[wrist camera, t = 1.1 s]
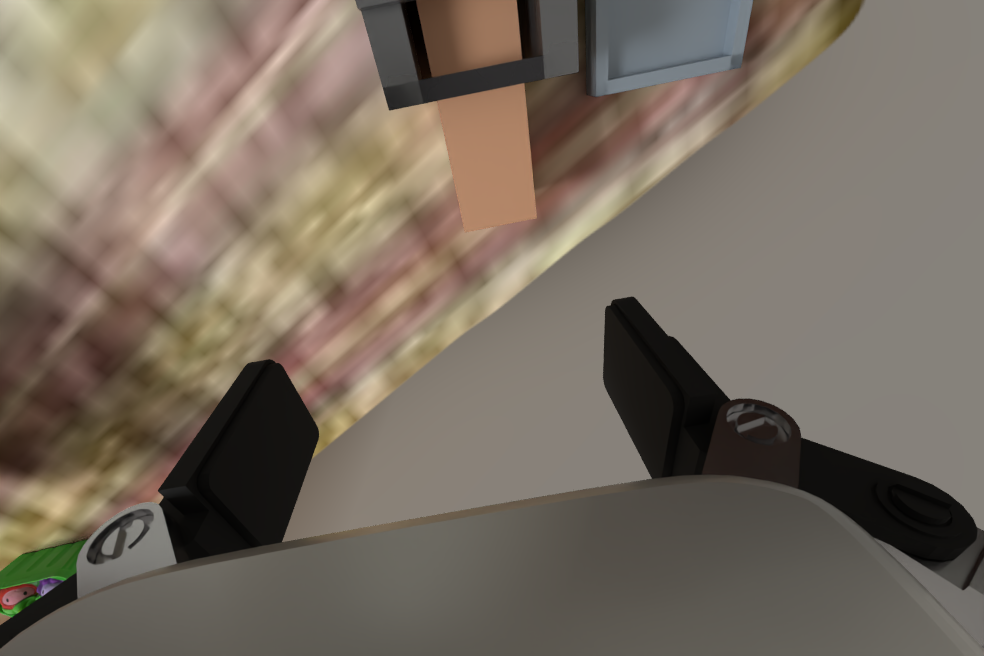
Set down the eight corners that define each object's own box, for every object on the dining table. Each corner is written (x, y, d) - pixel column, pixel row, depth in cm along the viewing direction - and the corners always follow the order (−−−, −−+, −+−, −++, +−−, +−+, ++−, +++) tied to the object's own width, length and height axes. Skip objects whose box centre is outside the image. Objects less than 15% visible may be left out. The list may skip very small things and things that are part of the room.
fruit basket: (90, 531, 48) (8, 642, 39) (140, 562, 53) (79, 667, 44) (2, 551, 48) (-101, 667, 39) (61, 580, 53) (-17, 688, 44)
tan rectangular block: (416, -5, 23) (411, -22, 18) (496, -20, 23) (512, -42, 18) (459, 205, 31) (464, 232, 26) (520, 193, 31) (536, 217, 26)
